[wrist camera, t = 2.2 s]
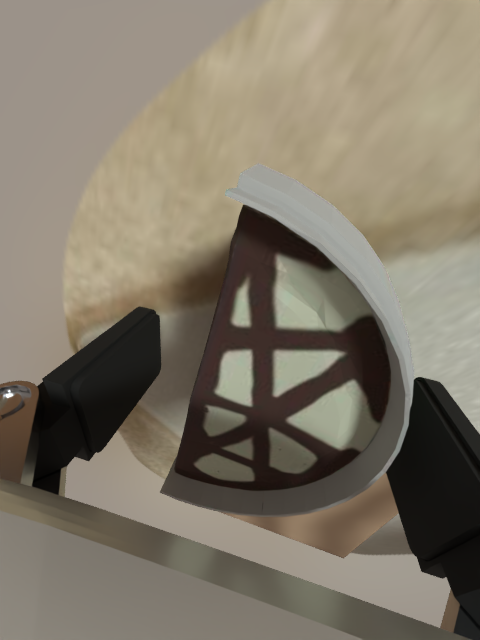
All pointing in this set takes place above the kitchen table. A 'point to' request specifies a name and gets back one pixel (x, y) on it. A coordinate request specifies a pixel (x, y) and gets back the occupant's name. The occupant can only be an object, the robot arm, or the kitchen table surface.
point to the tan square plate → (336, 521)
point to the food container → (295, 363)
